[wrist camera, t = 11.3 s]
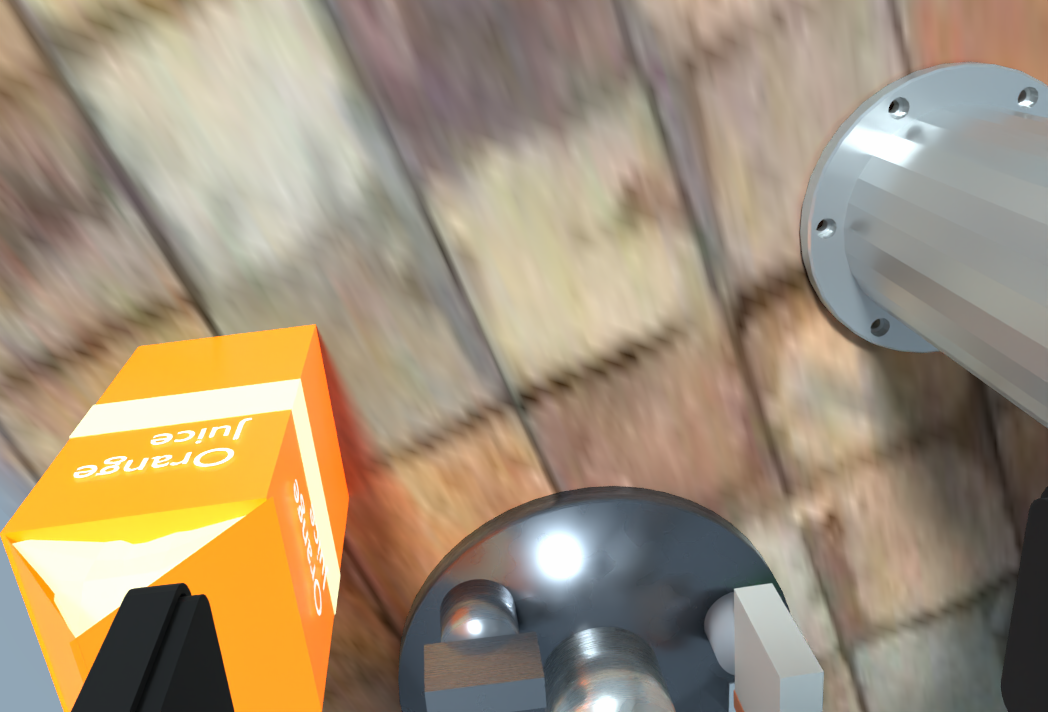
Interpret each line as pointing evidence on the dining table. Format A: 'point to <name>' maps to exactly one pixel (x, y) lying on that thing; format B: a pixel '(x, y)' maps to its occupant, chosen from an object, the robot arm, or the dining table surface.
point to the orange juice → (197, 512)
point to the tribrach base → (579, 609)
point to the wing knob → (764, 652)
